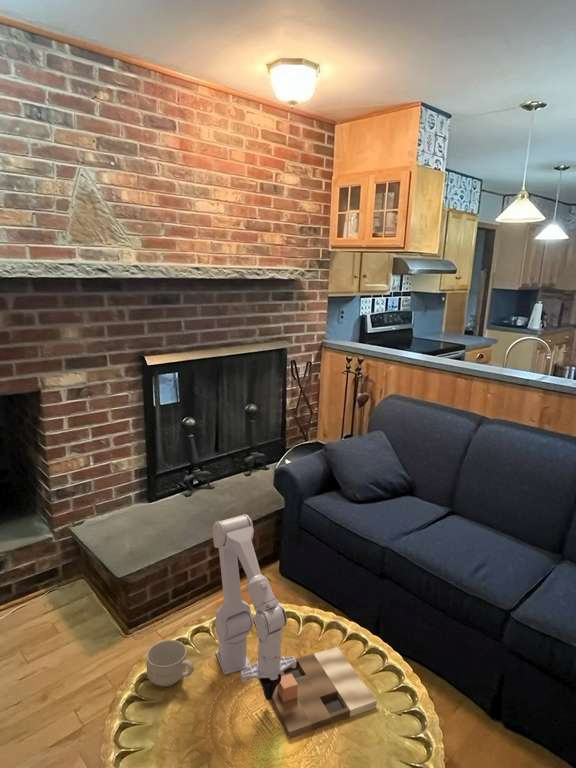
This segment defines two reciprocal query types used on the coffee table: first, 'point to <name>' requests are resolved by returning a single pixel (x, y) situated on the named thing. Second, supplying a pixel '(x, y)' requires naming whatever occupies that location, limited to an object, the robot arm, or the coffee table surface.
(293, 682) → the block
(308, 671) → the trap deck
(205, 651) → the coffee table surface
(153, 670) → the teacup
